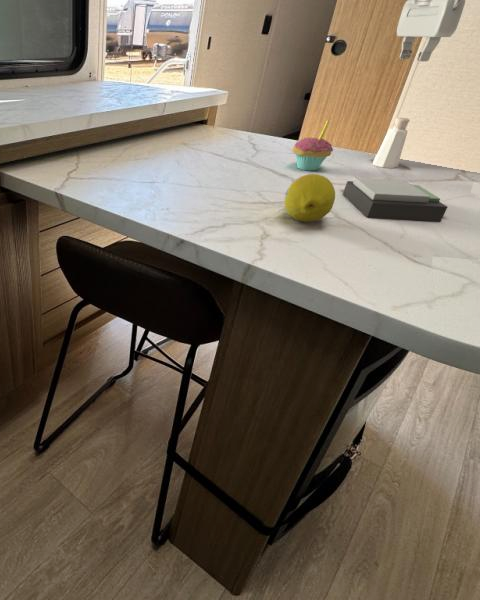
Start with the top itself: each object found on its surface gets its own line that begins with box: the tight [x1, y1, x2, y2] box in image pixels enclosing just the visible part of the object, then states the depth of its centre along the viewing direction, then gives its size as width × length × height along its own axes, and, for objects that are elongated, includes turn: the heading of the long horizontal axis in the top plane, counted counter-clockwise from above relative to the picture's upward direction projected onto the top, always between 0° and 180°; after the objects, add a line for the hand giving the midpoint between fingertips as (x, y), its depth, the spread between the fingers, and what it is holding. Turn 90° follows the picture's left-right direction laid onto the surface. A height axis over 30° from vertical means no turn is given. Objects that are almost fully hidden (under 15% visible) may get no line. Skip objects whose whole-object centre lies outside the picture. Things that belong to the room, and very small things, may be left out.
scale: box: [342, 177, 448, 223], centre depth 79 cm, size 12×13×4 cm
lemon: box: [284, 173, 336, 223], centre depth 72 cm, size 11×8×8 cm
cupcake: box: [291, 116, 334, 172], centre depth 99 cm, size 9×8×12 cm
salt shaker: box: [372, 117, 410, 169], centre depth 101 cm, size 5×5×11 cm
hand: (412, 60), depth 97 cm, fingers open, 8 cm apart
